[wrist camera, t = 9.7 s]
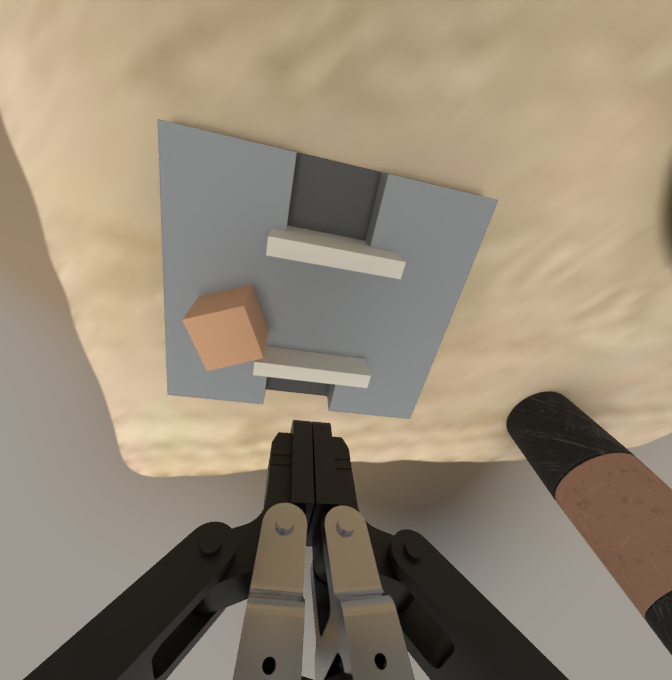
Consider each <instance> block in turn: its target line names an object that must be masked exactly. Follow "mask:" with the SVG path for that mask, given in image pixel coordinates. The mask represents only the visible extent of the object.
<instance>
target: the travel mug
mask: <svg viewBox="0 0 672 680" xmlns="http://www.w3.org/2000/svg"><path fill="white" fill-rule="evenodd" d="M507 429H508V432H509V434H510V435H511V437H512V439H513V440H514V441H515V443H516V444H517V446H518V447H519V449H520V450H521V452H522V453H523V455H524V456H525V457H526V459H527V460H528V462H529V463H530V465H531V466H532V467H533V469H534V470H535V472H536V473H537V475H538V476H539V477H540V479H541V480H542V482H543V483H544V485H545V486H546V487H547V489H548V490H549V492H550V493H551V495H552V496H553V498H554V499H555V500H556V501H557V503H558V504H559V506H560V507H561V508H562V510H563V511H564V512H565V514H566V515H567V517H568V518H569V519H570V521H571V522H572V523H573V524H574V526H575V527H576V529H577V530H578V531H579V533H580V534H581V535H582V537H583V538H584V539H585V541H586V542H587V543H588V544H589V546H590V547H591V548H592V549H593V551H594V552H595V554H596V555H597V556H598V558H599V559H600V560H601V562H602V563H603V564H604V566H605V567H606V568H607V570H608V571H609V572H610V574H611V575H612V576H613V578H614V579H615V580H616V582H617V583H618V584H619V586H620V587H621V588H622V590H623V591H624V592H625V594H626V595H627V596H628V598H629V599H630V600H631V601H632V603H633V604H634V606H635V607H636V608H637V609H638V611H639V612H640V614H641V615H642V616H643V618H644V619H645V620H646V621H647V623H648V624H649V626H650V627H651V628H652V629H653V631H654V632H655V634H656V635H657V636H658V638H659V639H660V640H661V642H662V643H663V644H664V646H665V647H666V648H667V649H668V651H669V652H670V653H671V655H672V489H671V488H670V487H669V486H667V485H666V484H665V483H664V482H663V481H662V480H661V479H660V478H659V477H658V476H656V475H655V474H654V473H653V472H652V471H651V470H650V469H649V468H648V467H646V465H644V464H643V463H642V462H641V461H640V460H639V459H638V458H637V457H635V456H634V455H633V454H632V453H631V452H630V451H628V450H627V449H626V448H625V447H624V446H623V445H622V444H620V443H619V442H618V441H617V440H616V439H615V438H613V437H612V436H611V435H610V434H609V433H607V432H606V431H605V430H604V429H603V428H602V427H600V426H599V425H598V424H597V423H596V422H594V421H593V420H592V419H591V418H590V417H589V416H587V415H586V414H585V413H584V412H583V411H582V410H580V409H579V408H578V407H577V406H576V405H574V404H573V403H572V402H571V401H570V400H568V399H567V398H566V397H564V396H563V395H561V394H559V393H555V392H543V393H538V394H535V395H533V396H530V397H528V398H526V399H525V400H523V401H522V402H520V403H519V404H518V405H517V406H516V407H515V408H514V409H513V410H512V412H511V413H510V415H509V417H508V420H507Z"/></svg>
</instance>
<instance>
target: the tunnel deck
mask: <svg viewBox="0 0 672 680" xmlns="http://www.w3.org/2000/svg"><path fill="white" fill-rule="evenodd" d="M158 142H159V170H160V198H161V225H162V253H163V281H164V308H165V336H166V364H167V392H168V395H175V396H185V397H195V398H205V399H215V400H225V401H235V402H245V403H255V404H263V402H264V395H265V389H268V390H277V391H287V392H296V393H305V394H315V395H324V396H327V398H328V407H329V411H335V412H345V413H355V414H366V415H376V416H386V417H396V418H406V419H410V418H411V415H412V413H413V410H414V408H415V405H416V403H417V400H418V398H419V395H420V393H421V390H422V388H423V385H424V383H425V380H426V378H427V375H428V373H429V370H430V368H431V365H432V363H433V361H434V358H435V356H436V353H437V351H438V348H439V346H440V343H441V341H442V338H443V336H444V333H445V331H446V328H447V326H448V323H449V321H450V318H451V316H452V313H453V311H454V309H455V306H456V304H457V301H458V299H459V296H460V294H461V291H462V289H463V286H464V284H465V281H466V279H467V276H468V274H469V271H470V269H471V266H472V264H473V261H474V259H475V256H476V254H477V252H478V249H479V247H480V244H481V242H482V239H483V237H484V234H485V232H486V229H487V227H488V224H489V222H490V219H491V217H492V214H493V212H494V209H495V207H496V204H497V202H498V200H497V199H492V198H488V197H484V196H480V195H475V194H471V193H467V192H463V191H459V190H454V189H450V188H446V187H442V186H437V185H433V184H429V183H425V182H421V181H416V180H412V179H408V178H404V177H399V176H395V175H391V174H386V173H382V172H377V171H373V170H369V169H365V168H360V167H356V166H352V165H348V164H344V163H339V162H335V161H331V160H327V159H322V158H318V157H314V156H310V155H305V154H301V153H297V152H294V151H290V150H285V149H281V148H277V147H273V146H268V145H264V144H260V143H256V142H252V141H247V140H243V139H239V138H235V137H230V136H226V135H222V134H218V133H214V132H209V131H205V130H201V129H197V128H192V127H188V126H184V125H180V124H176V123H171V122H167V121H163V120H159V119H158ZM251 284H252V285H253V288H254V291H255V294H256V297H257V300H258V302H259V305H260V308H261V311H262V314H263V317H264V320H265V322H266V325H267V328H268V331H269V332H268V337H267V343H266V348H265V354H264V358H263V359H258V360H254V361H249V362H245V363H240V364H236V365H232V366H227V367H223V368H218V369H214V370H209V371H207V370H206V368H205V366H204V364H203V362H202V360H201V358H200V356H199V354H198V352H197V349H196V347H195V345H194V343H193V341H192V339H191V337H190V335H189V333H188V331H187V329H186V327H185V325H184V323H183V321H182V319H183V318H184V316H185V315H186V314H187V312H188V311H189V310H190V308H191V307H192V305H193V304H194V303H195V301H196V300H197V299H198V297H199V296H203V295H207V294H212V293H216V292H220V291H225V290H229V289H233V288H238V287H242V286H247V285H251Z"/></svg>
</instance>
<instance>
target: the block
mask: <svg viewBox="0 0 672 680" xmlns="http://www.w3.org/2000/svg"><path fill="white" fill-rule="evenodd" d="M182 321H183V323H184V325H185V327H186V329H187V331H188V333H189V335H190V337H191V339H192V341H193V343H194V345H195V347H196V349H197V352H198V354H199V356H200V358H201V360H202V362H203V364H204V366H205V368H206V370H207V371H209V370H214V369H218V368H223V367H227V366H232V365H236V364H240V363H245V362H249V361H254V360H258V359H263V358H264V354H265V348H266V343H267V337H268V332H269V331H268V328H267V325H266V322H265V320H264V317H263V314H262V311H261V308H260V305H259V302H258V300H257V297H256V294H255V291H254V288H253V285H252V284H251V285H247V286H242V287H238V288H233V289H229V290H225V291H220V292H216V293H212V294H207V295H203V296H199V297H198V299H197V300H196V301H195V303H194V304H193V305H192V307H191V308H190V310H189V311H188V312H187V314H186V315H185V316H184V318H183V319H182Z"/></svg>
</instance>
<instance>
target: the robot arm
mask: <svg viewBox="0 0 672 680" xmlns="http://www.w3.org/2000/svg"><path fill="white" fill-rule="evenodd" d="M351 470H352V468H351V462H350V455H349V448H348V447H347V445H346V443H345V442H344V440H343V439H342V438H341V437H332V432H331V424H330V423H322V422H312V423H311V422H310V421H299V420H293V422H292V427H291V432H290V433H281V432H278V434H277V435H276V437H275V438H274V440H273V441H272V446H271V452H270V459H269V465H268V473H267V483H266V492H265V501H264V510H263V511H262V513H261V514H260V515H259V516H258V517H257V518H256V519H255V520H254V521H252V522H250V523H248V524H246V525H242V526H239V527H236V528H233V529H231V527H229V526H228V525H226V524H224V523H221V522H209V523H206V524H203V525H201V526H199V527H198V528H197V529H195V530H194V531H193V532H192V533H191V534H189V535H188V536H187V537H186V538H185V539H184V540H183V541H182V542H180V543H179V544H178V545H177V546H176V547H175V548H173V549H172V550H171V551H170V552H169V553H168V554H167V555H165V556H164V557H163V558H162V559H161V560H160V561H158V562H157V563H156V564H155V565H154V566H153V567H152V568H150V569H149V570H148V571H147V572H146V573H145V574H144V575H143V576H141V577H140V578H139V579H138V580H137V581H136V582H134V583H133V584H132V585H131V586H130V587H129V588H128V589H126V590H125V591H124V592H123V593H122V594H121V595H119V596H118V597H117V598H116V599H115V600H114V601H113V602H112V603H110V604H109V605H108V606H107V607H106V608H105V609H103V610H102V611H101V612H100V613H99V614H98V615H97V616H95V617H94V618H93V619H92V620H91V621H90V622H88V623H87V624H86V625H85V626H84V627H83V628H82V629H81V630H79V631H78V632H77V633H76V634H75V635H74V636H72V637H71V638H70V639H69V640H68V641H67V642H66V643H64V644H63V645H62V646H61V647H60V648H59V649H58V650H57V651H55V652H54V653H53V654H52V655H51V656H50V657H48V658H47V659H46V660H45V661H44V662H43V663H41V664H40V665H39V666H38V667H37V668H36V669H35V670H34V671H32V672H31V673H30V674H29V675H28V676H27V677H25V678H24V679H23V680H166V679H167V678H168V677H169V675H170V674H171V673H172V672H173V670H174V669H175V668H176V667H177V666H178V665H179V663H180V662H181V661H182V660H183V659H184V657H185V656H186V655H187V654H188V653H189V652H190V650H191V649H192V648H193V647H194V646H195V644H196V643H197V642H198V641H199V640H200V638H201V637H202V636H203V635H204V634H205V633H206V631H207V630H208V629H209V628H210V627H211V625H212V624H213V623H214V622H215V621H216V619H217V618H218V617H219V616H220V615H221V613H222V612H223V611H224V610H225V608H226V607H228V606H231V605H233V604H236V603H238V602H241V601H243V600H246V599H248V601H247V606H246V611H245V617H244V622H243V627H242V633H241V638H240V643H239V649H238V654H237V660H236V665H235V670H234V676H233V680H312V679H309V678H306V677H303V676H301V672H302V654H303V637H304V636H303V635H304V618H305V600H304V598H303V585H304V568H305V552H306V546H312V548H313V560H312V563H311V567H310V576H311V588H312V599H313V611H314V622H315V633H316V651H315V680H415V678H414V674H413V670H412V667H411V663H410V659H409V655H408V652H409V653H410V654H411V656H412V657H413V658H414V659H415V661H416V662H417V663H418V665H419V666H420V667H421V668H422V670H423V671H424V672H425V673H426V675H427V676H428V677H429V678H430V680H569V679H568V678H567V677H566V676H565V675H563V673H562V672H561V671H559V670H558V669H557V668H556V667H555V666H554V665H553V664H552V663H551V662H550V661H549V660H548V659H547V658H546V657H545V656H544V655H543V654H542V653H541V652H540V651H539V650H538V649H537V648H536V647H535V646H534V645H533V644H532V643H531V642H530V641H529V640H528V639H527V638H526V637H525V636H524V635H523V634H522V633H521V632H520V631H519V630H518V629H517V628H516V627H515V626H514V625H513V624H512V623H511V622H510V621H509V620H508V619H507V618H506V617H505V616H504V615H502V613H501V612H499V610H498V609H497V608H495V607H494V606H493V605H492V604H491V603H490V602H489V601H488V600H487V599H486V598H485V597H484V596H483V595H482V594H481V593H480V592H479V591H478V590H477V589H476V588H475V587H474V586H473V585H472V584H471V583H470V582H469V581H468V580H467V579H466V578H465V577H464V576H463V575H462V574H461V573H460V572H459V571H458V570H457V569H456V568H455V567H454V566H453V565H452V564H451V563H450V562H449V561H448V560H447V559H446V558H445V557H444V556H443V555H441V554H440V553H439V551H437V549H436V548H434V547H433V546H432V545H431V544H430V543H429V542H428V541H427V540H426V539H425V538H424V537H423V536H422V535H421V534H419V533H417V532H415V531H412V530H401V531H399V532H397V533H396V534H395V535H391V534H389V533H386V532H383V531H381V530H378V529H376V528H374V527H372V526H371V525H369V524H368V523H367V522H366V521H365V520H364V518H363V517H362V515H361V514H360V512H359V510H358V506H357V499H356V493H355V487H354V480H353V475H352V471H351ZM407 651H408V652H407Z"/></svg>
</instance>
